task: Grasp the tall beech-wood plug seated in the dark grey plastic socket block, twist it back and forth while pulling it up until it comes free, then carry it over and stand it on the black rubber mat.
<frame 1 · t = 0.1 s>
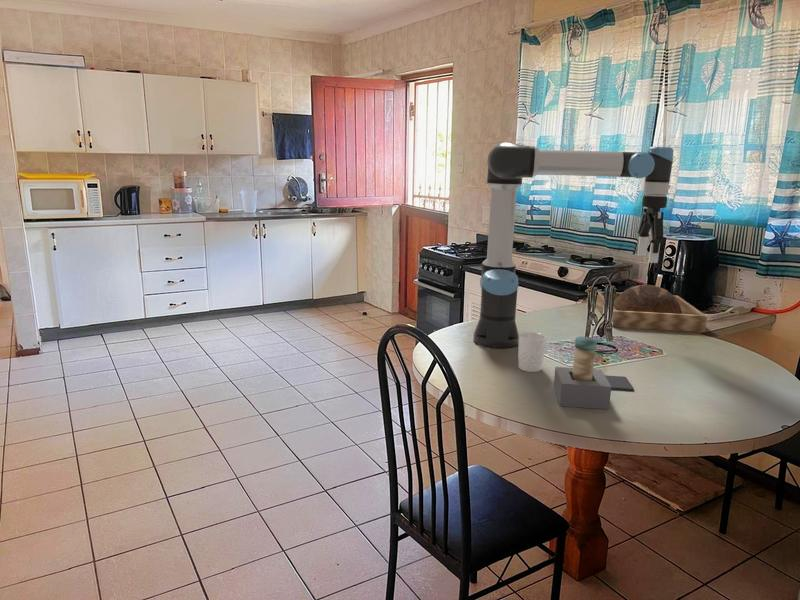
hand: (647, 259, 199), 28 cm above the table, fingers open, 13 cm apart
plug: (579, 398, 154), resting in socket
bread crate: (645, 317, 232), on the table
white cup: (529, 368, 174), on the table
socket: (579, 397, 154), on the table
bread: (645, 318, 232), resting in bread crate
mat: (612, 383, 164), on the table
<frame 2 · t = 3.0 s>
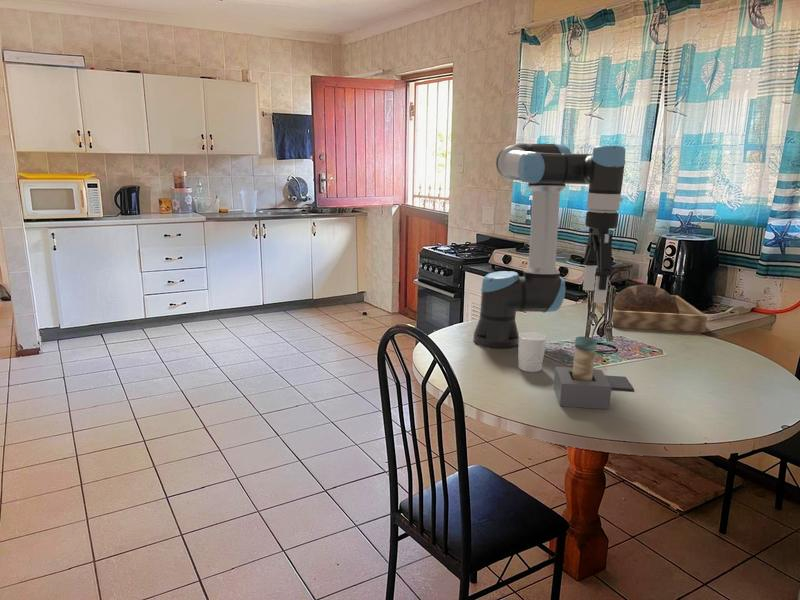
hand: (593, 296, 148), 27 cm above the table, fingers open, 13 cm apart
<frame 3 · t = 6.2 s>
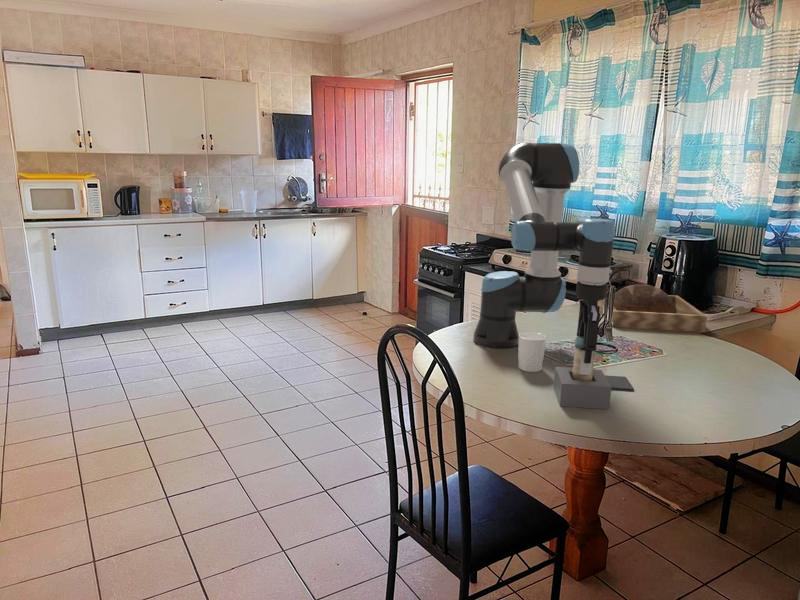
hand: (583, 369, 152), 8 cm above the table, fingers closed on plug, 5 cm apart
plug: (579, 398, 154), resting in socket, touching gripper
bread: (639, 317, 233), resting in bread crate
everything else where it was.
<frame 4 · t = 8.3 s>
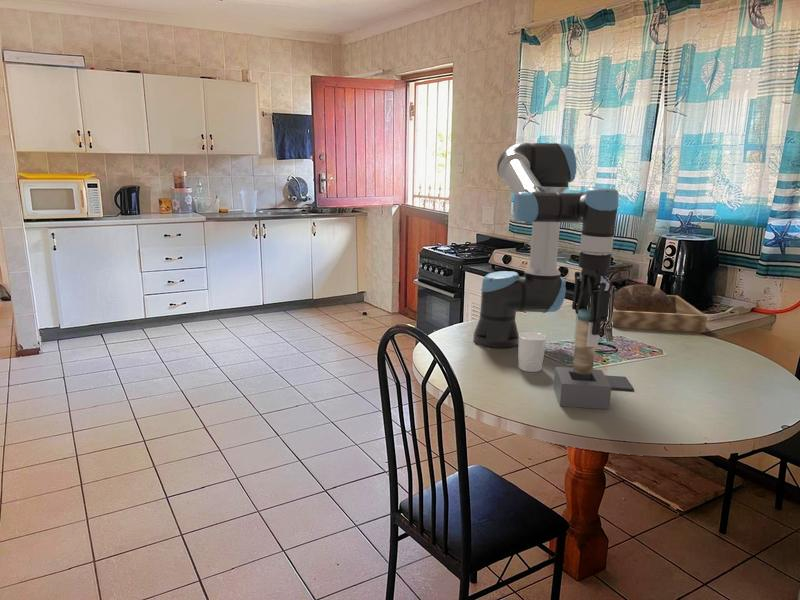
hand: (585, 342, 150), 15 cm above the table, fingers closed on plug, 5 cm apart
plug: (582, 370, 152), point 7 cm above the table, touching gripper
everything else where it was.
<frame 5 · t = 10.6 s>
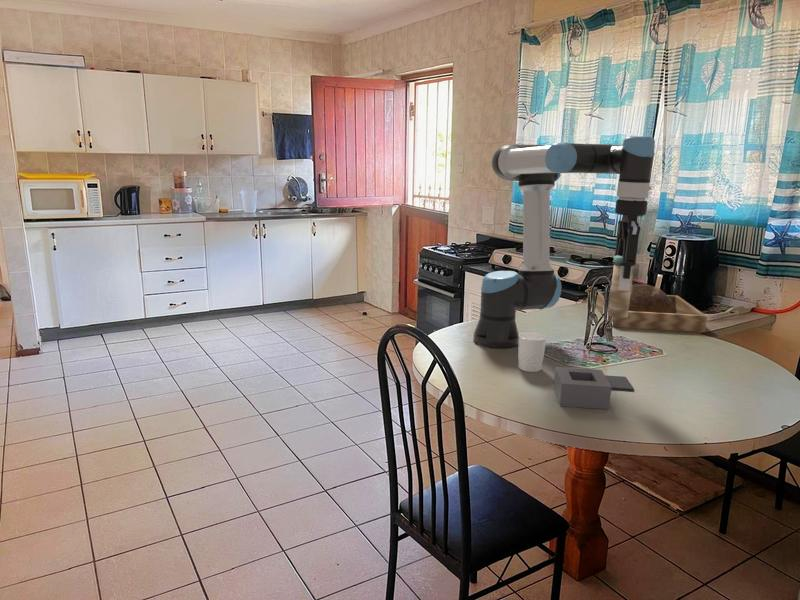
hand: (621, 287, 156), 28 cm above the table, fingers closed on plug, 5 cm apart
plug: (617, 315, 158), point 20 cm above the table, touching gripper
everything else where it was.
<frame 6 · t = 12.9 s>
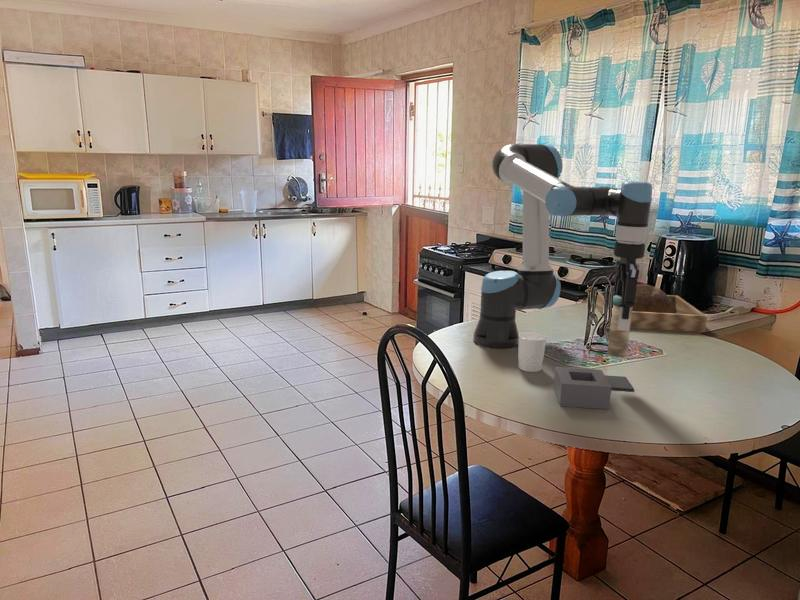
hand: (620, 326, 160), 17 cm above the table, fingers closed on plug, 5 cm apart
plug: (616, 354, 162), point 9 cm above the table, touching gripper
everything else where it was.
when the fingers open (9 cm above the table, at t = 15.1 s): plug stays where it is, resting on mat.
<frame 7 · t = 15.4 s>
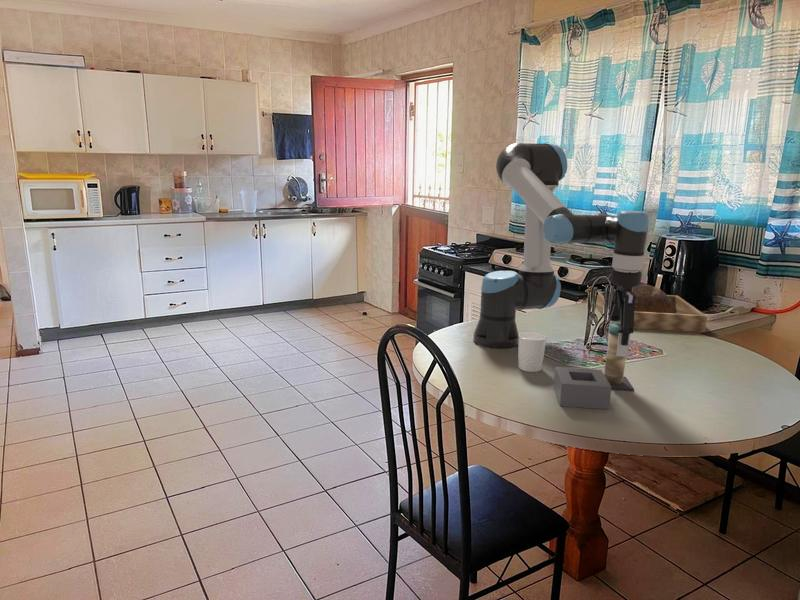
hand: (617, 349, 161), 10 cm above the table, fingers open, 10 cm apart
plug: (613, 381, 164), point 1 cm above the table, touching mat
everything else where it was.
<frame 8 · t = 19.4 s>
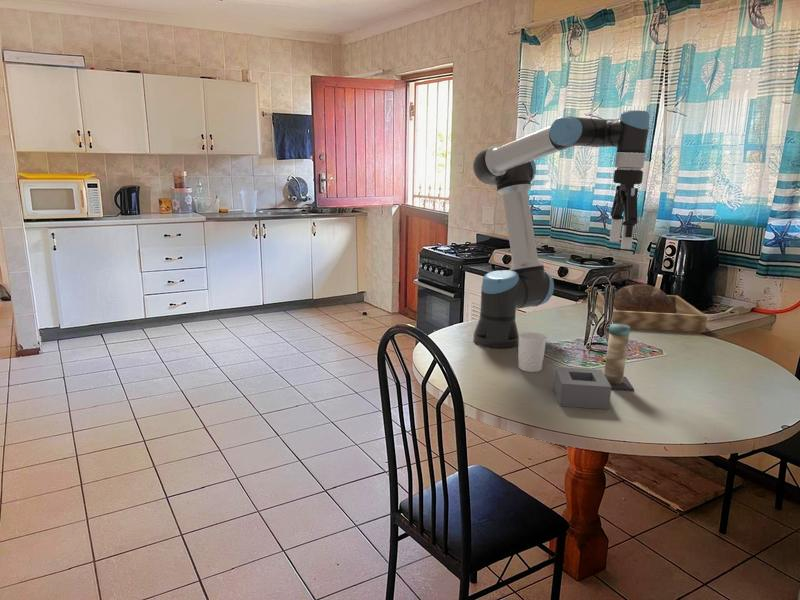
hand: (619, 245, 168), 37 cm above the table, fingers open, 13 cm apart
nothing on the table moved.
at the end: plug inside the target area on the mat (0.1 cm from its centre), point 0.6 cm above the mat's base; plug tilted 0°; the gripper is holding nothing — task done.
